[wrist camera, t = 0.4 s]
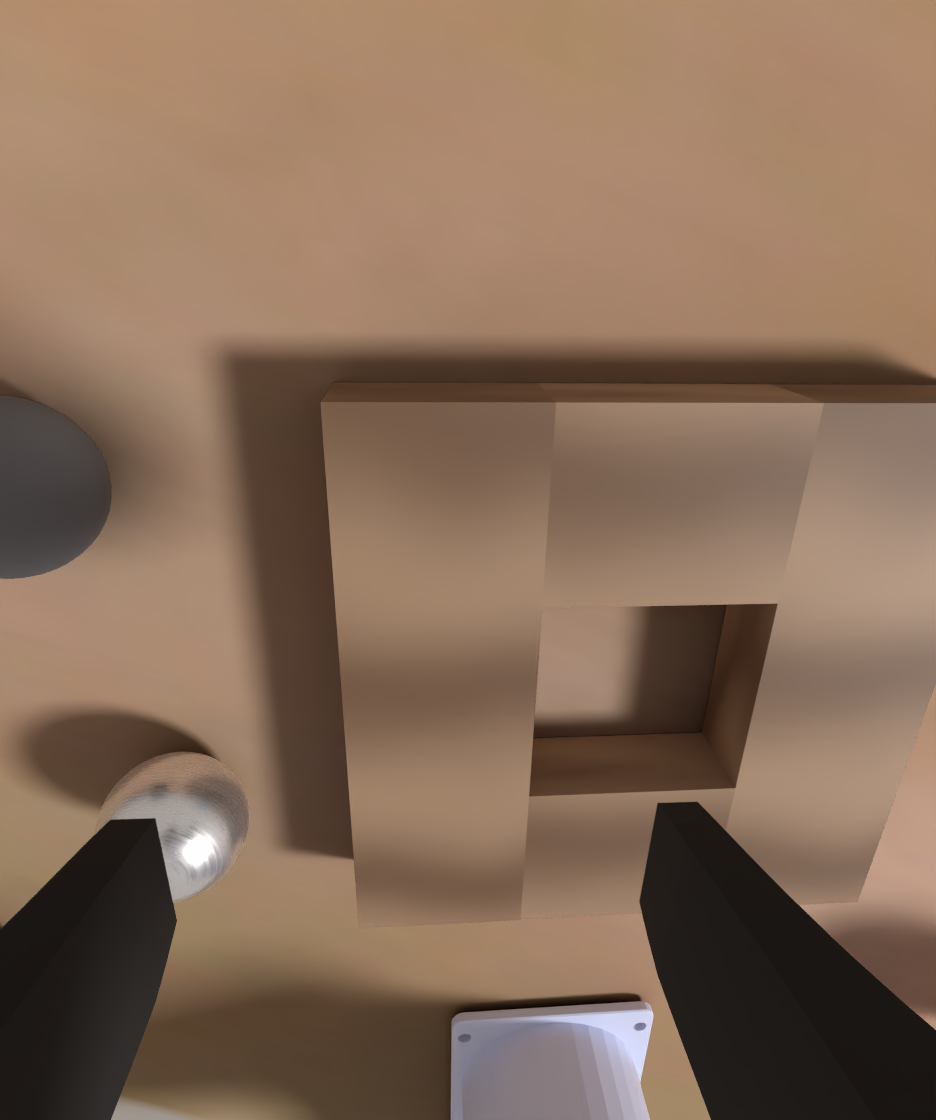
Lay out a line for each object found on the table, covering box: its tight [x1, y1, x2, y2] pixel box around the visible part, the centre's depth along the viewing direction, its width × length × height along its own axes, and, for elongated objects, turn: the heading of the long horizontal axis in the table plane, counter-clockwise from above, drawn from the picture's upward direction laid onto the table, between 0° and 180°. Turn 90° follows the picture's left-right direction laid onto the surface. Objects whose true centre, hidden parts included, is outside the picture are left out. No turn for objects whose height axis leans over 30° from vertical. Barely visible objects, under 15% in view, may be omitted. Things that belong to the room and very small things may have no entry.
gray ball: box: [0, 396, 111, 579], centre depth 15 cm, size 4×4×4 cm
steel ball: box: [95, 752, 249, 903], centre depth 19 cm, size 4×4×4 cm
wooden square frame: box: [320, 382, 936, 929], centre depth 19 cm, size 16×16×2 cm
